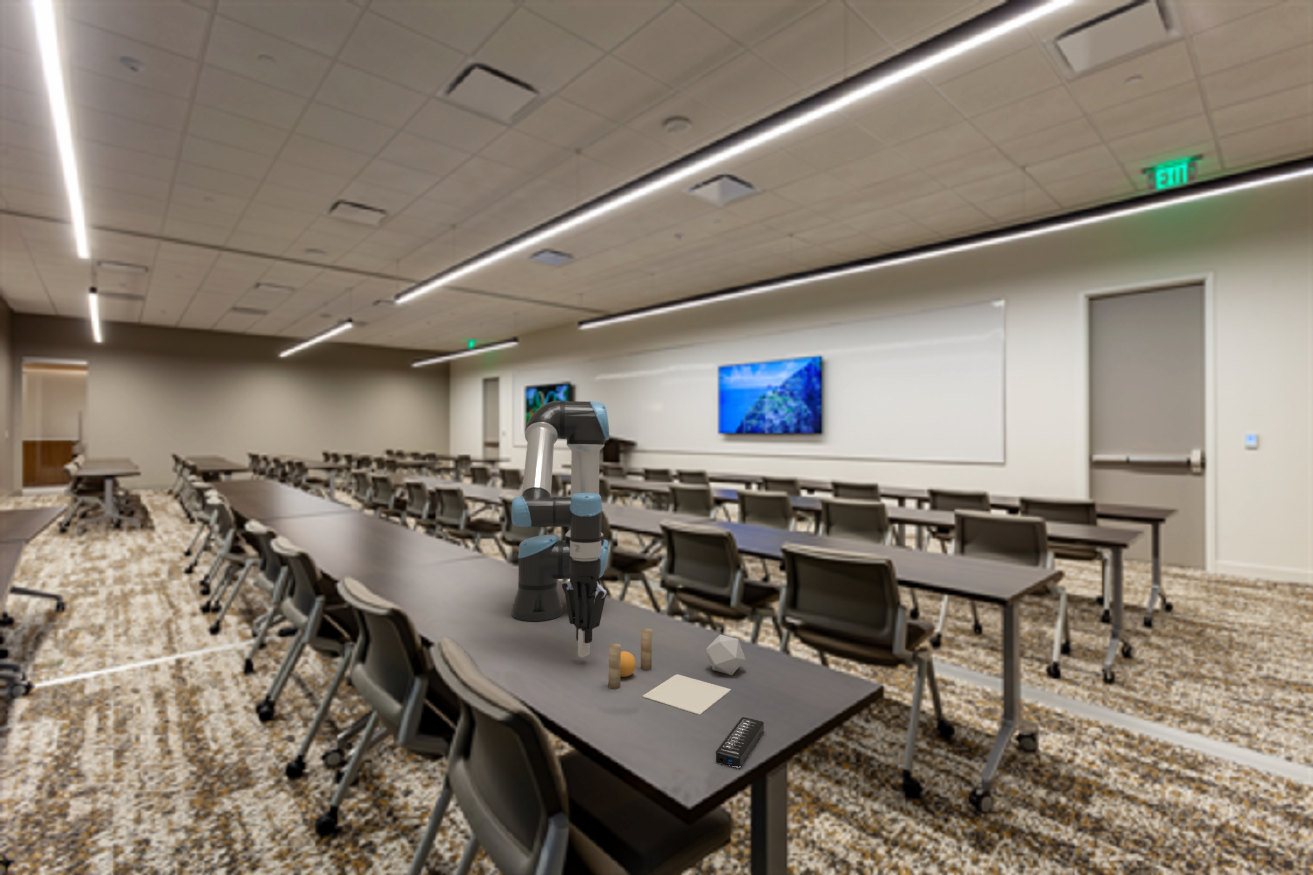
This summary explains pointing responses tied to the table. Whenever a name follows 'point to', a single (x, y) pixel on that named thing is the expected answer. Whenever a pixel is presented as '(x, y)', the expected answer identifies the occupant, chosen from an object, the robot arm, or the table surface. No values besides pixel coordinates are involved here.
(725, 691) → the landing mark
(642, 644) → the right post
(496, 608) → the table surface
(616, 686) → the left post
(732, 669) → the die
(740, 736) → the multiport hub
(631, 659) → the ball
